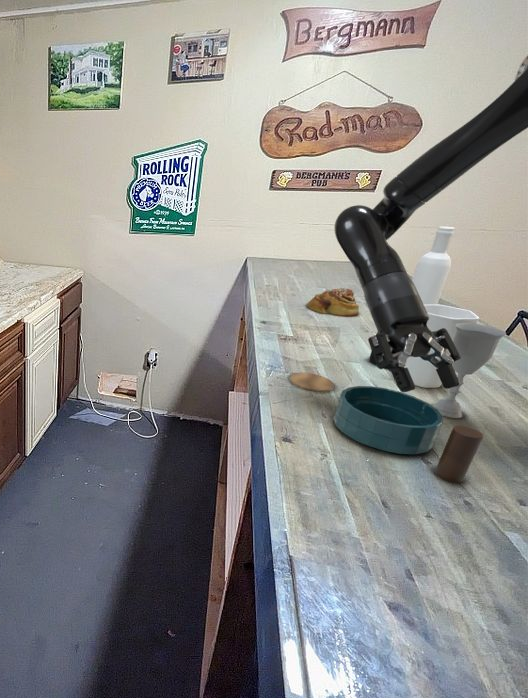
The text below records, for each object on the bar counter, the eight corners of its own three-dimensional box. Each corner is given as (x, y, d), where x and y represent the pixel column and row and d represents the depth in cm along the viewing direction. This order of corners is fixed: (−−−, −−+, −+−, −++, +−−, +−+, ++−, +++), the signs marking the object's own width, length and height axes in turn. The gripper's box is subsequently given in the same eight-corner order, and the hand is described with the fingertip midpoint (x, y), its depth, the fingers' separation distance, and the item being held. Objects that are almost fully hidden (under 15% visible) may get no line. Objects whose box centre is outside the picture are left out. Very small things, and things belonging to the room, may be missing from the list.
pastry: (361, 318, 148) (368, 294, 145) (310, 313, 153) (315, 290, 150) (352, 307, 160) (359, 284, 156) (305, 302, 164) (310, 280, 161)
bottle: (396, 328, 140) (430, 227, 128) (396, 321, 146) (428, 224, 134) (429, 333, 136) (467, 229, 123) (427, 326, 141) (463, 226, 129)
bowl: (414, 420, 90) (424, 393, 88) (445, 465, 77) (458, 434, 75) (326, 406, 95) (333, 380, 93) (341, 446, 82) (350, 417, 79)
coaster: (329, 378, 108) (330, 376, 108) (337, 394, 100) (337, 392, 100) (287, 372, 111) (288, 370, 110) (292, 388, 103) (292, 386, 103)
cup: (389, 368, 113) (412, 301, 106) (440, 376, 109) (467, 307, 102) (398, 386, 104) (423, 315, 97) (454, 396, 100) (485, 322, 93)
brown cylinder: (457, 471, 75) (477, 427, 72) (467, 485, 72) (488, 439, 69) (431, 467, 77) (449, 423, 73) (439, 479, 73) (459, 435, 70)
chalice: (430, 416, 92) (463, 332, 84) (419, 401, 98) (449, 321, 90) (475, 423, 89) (514, 337, 82) (461, 407, 95) (496, 326, 88)
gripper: (375, 294, 78) (413, 385, 72) (446, 291, 80) (489, 378, 74) (343, 315, 85) (376, 398, 79) (410, 311, 87) (446, 392, 81)
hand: (430, 389), depth 76 cm, fingers open, 8 cm apart
